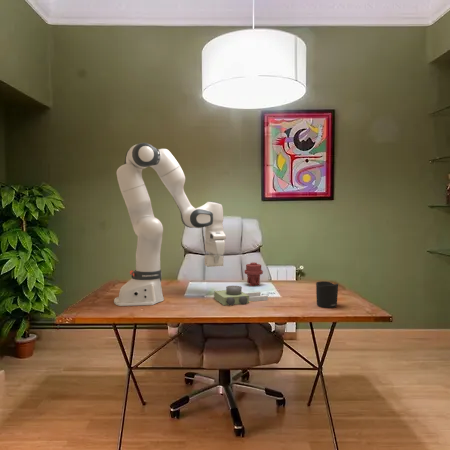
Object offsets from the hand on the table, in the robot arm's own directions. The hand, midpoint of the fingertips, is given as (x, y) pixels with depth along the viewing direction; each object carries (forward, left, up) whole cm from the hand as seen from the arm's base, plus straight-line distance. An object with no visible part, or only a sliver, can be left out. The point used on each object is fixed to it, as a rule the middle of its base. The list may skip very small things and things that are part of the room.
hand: (214, 262), depth 202 cm
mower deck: (+8, -17, -16) cm, 24 cm away
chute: (0, 0, -2) cm, 2 cm away
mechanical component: (+27, +13, -16) cm, 34 cm away
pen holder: (+40, -38, -16) cm, 58 cm away
